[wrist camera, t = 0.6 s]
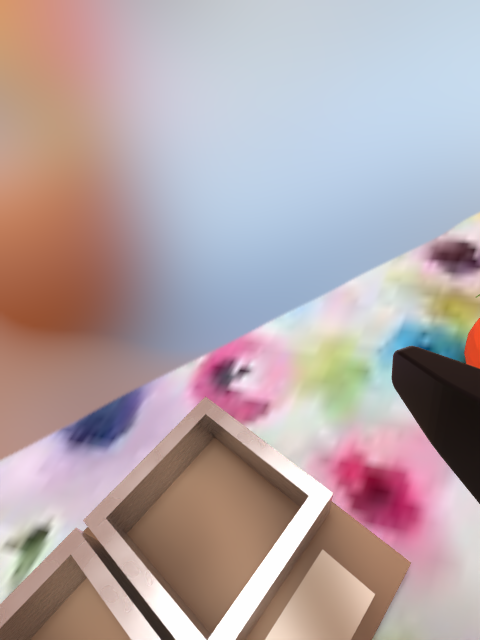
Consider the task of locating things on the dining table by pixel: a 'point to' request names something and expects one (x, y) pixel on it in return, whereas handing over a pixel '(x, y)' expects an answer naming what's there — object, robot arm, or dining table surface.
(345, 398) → the dining table surface
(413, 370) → the robot arm
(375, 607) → the socket board
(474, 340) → the clementine
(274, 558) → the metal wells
